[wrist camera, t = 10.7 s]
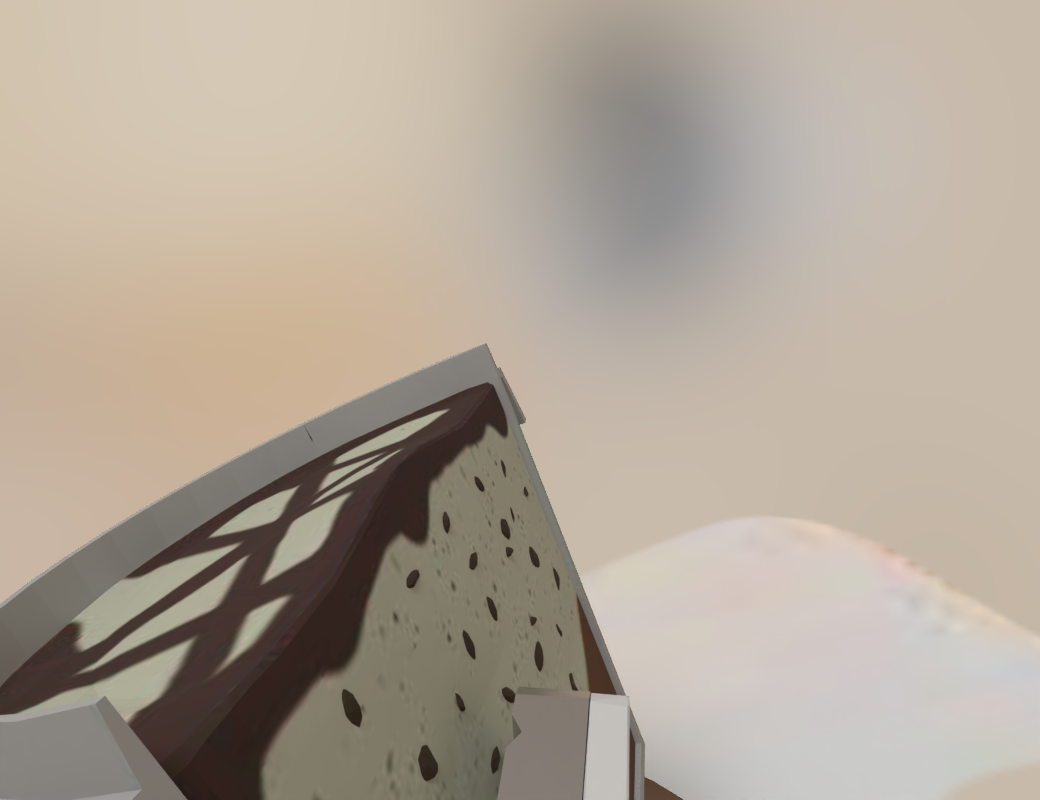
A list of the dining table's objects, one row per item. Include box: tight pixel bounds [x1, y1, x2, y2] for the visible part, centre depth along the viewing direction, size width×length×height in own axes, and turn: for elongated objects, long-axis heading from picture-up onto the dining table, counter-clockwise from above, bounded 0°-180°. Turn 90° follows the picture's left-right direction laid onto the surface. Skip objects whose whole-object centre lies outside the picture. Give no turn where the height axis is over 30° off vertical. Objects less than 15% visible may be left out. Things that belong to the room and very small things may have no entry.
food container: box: [0, 344, 645, 800], centre depth 12 cm, size 12×6×10 cm, turn 171°
